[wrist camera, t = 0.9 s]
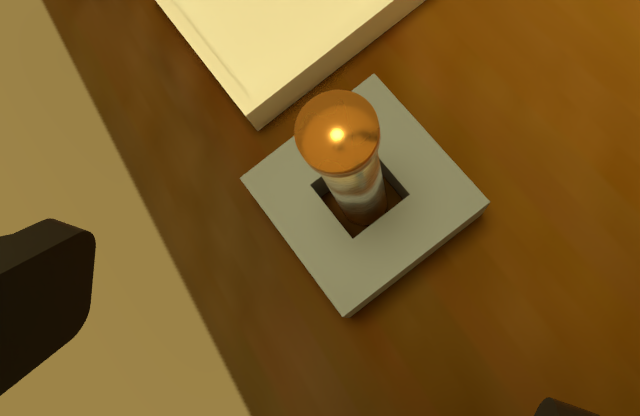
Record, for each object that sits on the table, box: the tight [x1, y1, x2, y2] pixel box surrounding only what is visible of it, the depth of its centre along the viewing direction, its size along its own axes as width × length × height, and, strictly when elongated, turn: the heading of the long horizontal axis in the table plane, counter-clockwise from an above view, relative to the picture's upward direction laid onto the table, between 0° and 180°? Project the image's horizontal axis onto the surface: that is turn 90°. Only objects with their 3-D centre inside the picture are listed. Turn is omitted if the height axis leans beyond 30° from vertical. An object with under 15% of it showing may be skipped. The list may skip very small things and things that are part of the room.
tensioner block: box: [240, 74, 490, 318], centre depth 37 cm, size 12×12×4 cm
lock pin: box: [294, 90, 387, 225], centre depth 31 cm, size 4×4×15 cm
